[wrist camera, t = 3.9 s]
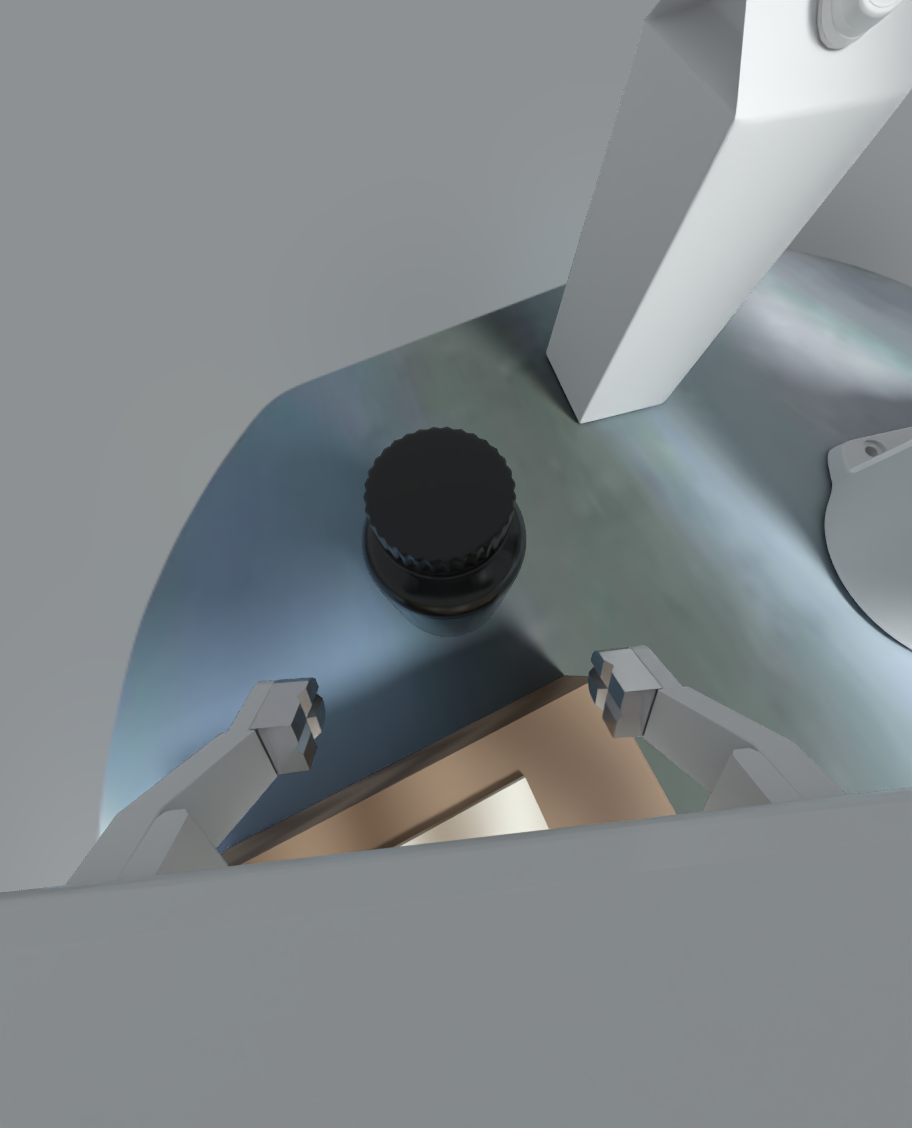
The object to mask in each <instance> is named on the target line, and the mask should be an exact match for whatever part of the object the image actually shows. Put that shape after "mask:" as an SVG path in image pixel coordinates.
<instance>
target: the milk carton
mask: <svg viewBox="0 0 912 1128" xmlns="http://www.w3.org/2000/svg"><path fill="white" fill-rule="evenodd" d="M911 89H912V0H660V1H659V2H658V4H657V5H656V6H655V7H654V8H653V10H652V11H651V12H650V13H649V14H648V16H647V17H646V18H645V20H644V25H643V28H642V32H641V35H640V38H639V42H638V45H637V49H636V52H635V55H634V59H633V62H632V65H631V69H630V72H629V75H628V79H627V82H626V85H625V89H624V92H623V95H622V99H621V102H620V106H619V109H618V112H617V116H616V119H615V123H614V126H613V129H612V132H611V136H610V139H609V143H608V146H607V149H606V153H605V156H604V159H603V163H602V166H601V170H600V173H599V176H598V180H597V183H596V186H595V190H594V193H593V197H592V200H591V203H590V207H589V210H588V214H587V217H586V220H585V223H584V227H583V230H582V234H581V237H580V240H579V244H578V247H577V251H576V254H575V257H574V260H573V264H572V267H571V270H570V274H569V277H568V281H567V284H566V287H565V291H564V294H563V297H562V301H561V304H560V307H559V311H558V314H557V318H556V321H555V324H554V328H553V331H552V334H551V338H550V341H549V345H548V348H547V351H546V354H547V357H548V359H549V361H550V363H551V365H552V367H553V369H554V371H555V373H556V376H557V378H558V380H559V382H560V384H561V386H562V388H563V390H564V392H565V394H566V396H567V398H568V401H569V403H570V405H571V407H572V409H573V411H574V413H575V415H576V417H577V419H578V421H579V423H585V422H590V421H594V420H598V419H602V418H606V417H610V416H614V415H618V414H622V413H626V412H630V411H634V410H639V409H643V408H647V407H651V406H655V405H659V404H662V403H664V402H665V401H666V399H667V398H668V397H669V396H670V394H671V393H672V392H673V391H674V389H675V388H676V387H677V386H678V384H679V383H680V382H681V380H682V379H683V378H684V377H685V375H686V374H687V373H688V372H689V370H690V369H691V368H692V367H693V365H694V364H695V363H696V362H697V360H698V359H699V358H700V356H701V355H702V354H703V353H704V351H705V350H706V349H707V348H708V346H709V345H710V344H711V343H712V341H713V340H714V339H715V338H716V336H717V335H718V334H719V333H720V331H721V330H722V329H723V327H724V326H725V325H726V324H727V322H728V321H729V320H730V319H731V317H732V316H733V315H734V314H735V312H736V311H737V310H738V309H739V307H740V306H741V305H742V303H743V302H744V301H745V300H746V298H747V297H748V296H749V295H750V293H751V292H752V291H753V290H754V288H755V287H756V286H757V285H758V283H759V282H760V281H761V279H762V278H763V277H764V276H765V274H766V273H767V272H768V271H769V269H770V268H771V267H772V266H773V264H774V263H775V262H776V261H777V259H778V258H779V257H780V256H781V254H782V253H783V252H784V250H785V249H786V248H787V247H788V245H789V244H790V243H791V242H792V240H793V239H794V238H795V236H796V235H797V234H798V233H799V232H800V230H801V229H802V228H803V226H804V225H805V224H806V223H807V221H808V220H809V219H810V218H811V216H812V215H813V214H814V212H815V211H816V210H817V209H818V207H819V206H820V205H821V204H822V203H823V201H824V200H825V199H826V197H827V196H828V195H829V194H830V192H831V191H832V190H833V189H834V187H835V186H836V185H837V183H838V182H839V181H840V180H841V178H842V177H843V176H844V175H845V173H846V172H847V171H848V170H849V168H850V167H851V166H852V165H853V163H854V162H855V161H856V160H857V158H858V157H859V156H860V155H861V153H862V152H863V150H864V149H865V148H866V147H867V146H868V144H869V143H870V142H871V141H872V139H873V138H874V137H875V135H876V134H877V133H878V132H879V130H880V129H881V128H882V126H883V125H884V124H885V123H886V121H887V120H888V119H889V118H890V116H891V115H892V113H893V112H894V111H895V110H896V109H897V107H898V106H899V105H900V103H901V102H902V101H903V100H904V98H905V97H906V96H907V94H908V93H909V91H910V90H911Z"/></svg>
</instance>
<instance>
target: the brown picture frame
mask: <svg viewBox="0 0 912 1128" xmlns="http://www.w3.org/2000/svg"><path fill="white" fill-rule="evenodd" d="M602 715H603V710H602V709H601V708H599V707H598V706H597V705H595V703H594V701H593V699H592V697H591V695H590V692H589V687H588V676H568V675H565V676H563V677H561V678H559V679H557V680H555V681H553V682H551V683H549V684H547V685H545V686H543V687H541V688H539V689H537V690H535V691H533V692H532V693H530V694H528V695H526V696H524V697H522V698H520V699H518V700H516V701H514V702H512V703H510V704H508V705H506V706H504V707H502V708H500V709H498V710H497V711H495V712H493V713H491V714H489V715H487V716H485V717H483V718H481V719H479V720H477V721H475V722H473V723H471V724H469V725H467V726H465V727H463V728H461V729H460V730H458V731H456V732H454V733H452V734H450V735H448V736H446V737H444V738H442V739H440V740H438V741H436V742H434V743H432V744H430V745H428V746H426V747H425V748H423V749H421V750H419V751H417V752H415V753H413V754H411V755H409V756H407V757H405V758H403V759H401V760H399V761H397V762H395V763H393V764H391V765H390V766H388V767H386V768H384V769H382V770H380V771H378V772H376V773H374V774H372V775H370V776H368V777H366V778H364V779H362V780H360V781H358V782H356V783H354V784H353V785H351V786H349V787H347V788H345V789H343V790H341V791H339V792H337V793H335V794H333V795H331V796H329V797H327V798H325V799H323V800H321V801H319V802H318V803H316V804H314V805H312V806H310V807H308V808H306V809H304V810H302V811H300V812H298V813H296V814H294V815H292V816H290V817H288V818H286V819H284V820H282V821H281V822H279V823H277V824H275V825H273V826H271V827H269V828H267V829H265V830H263V831H261V832H259V833H257V834H255V835H253V836H251V837H249V838H247V839H246V840H244V841H242V842H240V843H238V844H236V845H234V846H232V847H230V848H229V849H227V850H226V851H225V852H224V853H222V854H221V856H222V857H223V858H224V860H225V861H226V862H227V864H228V866H236V865H245V864H254V863H262V862H271V861H279V860H288V859H297V858H305V857H314V856H323V855H331V854H340V853H348V852H357V851H366V850H374V849H383V848H392V847H400V846H409V845H417V844H426V843H434V842H443V841H452V840H460V839H469V838H477V837H486V836H494V835H503V834H512V833H520V832H529V831H538V830H547V829H555V828H564V827H573V826H581V825H590V824H599V823H607V822H616V821H625V820H633V819H642V818H651V817H659V816H668V815H676V813H675V811H674V809H673V807H672V806H671V804H670V802H669V800H668V798H667V797H666V795H665V793H664V791H663V790H662V788H661V786H660V784H659V782H658V781H657V779H656V777H655V775H654V773H653V772H652V770H651V768H650V766H649V764H648V763H647V761H646V759H645V757H644V756H643V754H642V752H641V750H640V748H639V747H638V745H637V743H636V741H635V739H634V738H633V737H625V738H613V737H612V735H611V733H610V732H609V730H608V728H607V726H606V724H605V722H604V720H603V719H602Z"/></svg>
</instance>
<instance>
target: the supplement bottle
mask: <svg viewBox="0 0 912 1128" xmlns="http://www.w3.org/2000/svg"><path fill="white" fill-rule="evenodd" d="M368 475H369V478H368V479H367V481H366V483H365V489H366V492H365V494H364V501H365V503H366V509H365V512H366V515H367V516H366V518H365V522H364V526H363V532H362V549H363V555H364V560H365V563H366V566H367V569H368V571H369V573H370V575H371V577H372V579H373V580H374V582H375V583H376V585H377V586H378V588H379V589H380V590H381V591H382V593H383V594H384V595H385V596H386V597H387V598H388V599H389V600H390V601H391V602H392V604H393V605H394V606H395V607H396V608H397V609H398V610H399V611H400V612H401V613H402V614H403V615H404V616H405V617H406V618H407V619H408V620H409V621H410V622H411V623H412V624H413V625H415V626H416V627H417V628H419V629H421V630H423V631H425V632H427V633H429V634H432V635H436V636H442V637H455V636H461V635H464V634H467V633H470V632H472V631H474V630H476V629H478V628H479V627H481V626H482V625H483V624H485V623H486V622H487V621H488V620H489V619H490V618H491V616H492V615H493V614H494V612H495V611H496V610H497V608H498V607H499V605H500V603H501V602H502V600H503V598H504V597H505V595H506V594H507V592H508V590H509V589H510V587H511V586H512V584H513V582H514V580H515V579H516V577H517V575H518V573H519V571H520V568H521V566H522V562H523V559H524V555H525V550H526V530H525V524H524V519H523V516H522V513H521V511H520V509H519V507H518V505H517V503H516V495H515V492H514V489H515V482H514V480H513V479H512V477H511V476H512V471H511V469H510V468H509V467H508V466H507V465H506V460H505V458H503V457H502V456H501V455H499V453H498V450H497V449H496V448H494V447H492V446H490V445H489V443H488V442H487V441H486V440H484V439H480V438H478V437H477V436H476V435H475V434H473V433H466V432H465V431H463V430H462V429H451V428H449V427H444V428H437V427H432V428H430V429H427V430H418V431H416V432H415V433H411V434H406V435H405V436H404V437H403V438H402V439H399V440H395V441H394V442H393V443H392V445H391V446H390V447H387V448H386V449H384V450H383V452H382V454H381V456H379V457H378V458H377V459H375V462H374V466H373V467H372V468H371V469H370V470H369V473H368Z"/></svg>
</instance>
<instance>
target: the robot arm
mask: <svg viewBox="0 0 912 1128" xmlns="http://www.w3.org/2000/svg"><path fill="white" fill-rule="evenodd" d="M828 466H829V471H830V476H831V480H832V491H831V495H830V499H829V502H828V505H827V509H826V514H825V536H826V543H827V547H828V551H829V554H830V557H831V560H832V562H833V565H834V567H835V569H836V571H837V573H838V575H839V577H840V579H841V581H842V582H843V584H844V586H845V587H846V589H847V590H848V592H849V593H850V595H851V596H852V597H853V599H854V600H855V601H856V602H857V604H858V605H859V606H860V607H861V608H862V610H863V611H864V612H865V613H866V614H867V615H868V616H869V617H870V618H871V619H872V620H873V621H874V622H875V623H876V624H877V625H878V626H880V627H881V628H882V629H883V630H884V631H885V632H887V633H888V634H889V635H891V636H892V637H893V638H895V639H896V640H897V641H899V642H900V643H902V644H903V645H905V646H906V647H908V648H910V649H911V650H912V427H907V428H902V429H898V430H893V431H889V432H884V433H880V434H875V435H871V436H866V437H862V438H857V439H853V440H849V441H846V442H844V443H842V444H840V445H838V446H836V447H834V448H832V449H831V450H830V451H829V453H828ZM591 662H592V664H593V666H594V667H593V668H592V669H591V670H590V671H589V674H588V687H589V692H590V695H591V697H592V699H593V701H594V703H595V705H597V706H598V707H599V708H601V709H602V710H603V715H602V719H603V720H604V722H605V724H606V726H607V728H608V730H609V732H610V733H611V735H612V737H613V738H625V737H638V736H644V737H643V738H644V739H645V740H647V741H648V742H649V743H650V744H652V745H653V746H654V747H655V748H656V749H658V750H659V751H660V752H661V753H663V754H664V755H665V756H666V757H667V758H669V759H670V760H671V761H672V762H674V763H675V764H676V765H677V766H678V767H680V768H681V769H682V770H683V771H685V772H686V773H687V774H688V775H689V776H691V777H692V778H693V779H694V780H695V781H697V782H698V783H699V784H700V785H702V786H703V787H704V788H705V789H706V790H708V791H709V792H710V793H711V795H710V797H709V799H708V801H707V803H706V805H705V807H704V810H703V811H702V812H694V813H685V814H677V815H668V816H659V817H651V818H642V819H633V820H625V821H616V822H607V823H599V824H590V825H581V826H573V827H564V828H555V829H547V830H538V831H529V832H520V833H512V834H503V835H494V836H486V837H477V838H469V839H460V840H452V841H443V842H434V843H426V844H417V845H409V846H400V847H392V848H383V849H374V850H366V851H357V852H348V853H340V854H331V855H323V856H314V857H305V858H297V859H288V860H279V861H271V862H262V863H254V864H245V865H236V866H228V864H227V862H226V861H225V860H224V858H223V857H222V856H221V854H220V853H219V852H218V851H217V849H216V848H217V847H218V846H219V845H220V844H221V842H222V841H223V840H224V839H225V838H226V837H227V835H228V834H229V833H230V832H231V831H232V829H233V828H234V827H235V826H236V825H237V824H238V822H239V821H240V820H241V819H242V818H243V817H244V815H245V814H246V813H247V812H248V811H249V809H250V808H251V807H252V806H253V805H254V804H255V802H256V801H257V800H258V799H259V798H260V797H261V795H262V794H263V793H264V792H265V791H266V789H267V788H268V787H269V786H270V785H271V784H272V782H273V781H274V780H275V779H276V778H277V775H278V774H286V773H293V772H301V771H308V770H310V768H311V765H312V761H313V758H314V755H315V752H316V749H317V745H316V743H315V740H314V739H315V738H316V737H317V736H318V735H319V734H320V733H321V732H322V729H323V725H324V720H325V706H324V701H323V698H322V697H320V696H319V695H318V694H316V693H317V690H318V687H319V686H318V684H317V681H316V679H315V678H297V679H283V680H274V681H260V682H258V683H257V684H256V685H255V686H254V687H253V689H252V691H251V692H250V694H249V696H248V698H247V699H246V701H245V703H244V704H243V706H242V708H241V710H240V711H239V713H238V715H237V716H236V718H235V720H234V722H233V723H232V725H231V727H230V729H229V730H228V732H226V733H221V734H220V735H218V736H217V737H216V738H214V739H213V740H212V741H211V742H209V743H208V744H207V745H205V746H204V747H203V748H202V749H200V750H199V751H198V752H196V753H195V754H194V755H193V756H191V757H190V758H189V759H187V760H186V761H185V762H184V763H182V764H181V765H180V766H178V767H177V768H176V769H175V770H173V771H172V772H171V773H169V774H168V775H167V776H166V777H164V778H163V779H162V780H160V781H159V782H158V783H157V784H155V785H154V786H153V787H151V788H150V789H149V790H148V791H146V792H145V793H144V794H142V795H141V796H140V797H138V798H137V799H136V800H135V801H133V802H132V803H131V804H129V805H128V806H127V807H126V808H124V809H123V810H122V811H120V812H119V813H118V814H117V815H116V816H115V818H114V819H113V820H112V822H111V823H110V824H109V826H108V827H107V829H106V830H105V831H104V833H103V834H102V835H101V837H100V838H99V840H98V841H97V842H96V844H95V845H94V846H93V848H92V849H91V851H90V852H89V853H88V855H87V856H86V857H85V859H84V860H83V862H82V863H81V864H80V866H79V867H78V868H77V870H76V871H75V873H74V874H73V875H72V877H71V878H70V879H69V881H68V882H67V884H66V885H63V886H54V887H45V888H37V889H28V890H19V891H10V892H2V893H0V1128H912V787H909V788H901V789H892V790H883V791H875V792H866V793H857V794H849V795H847V794H846V793H845V792H844V791H843V790H842V789H841V788H840V787H839V786H838V785H837V784H836V783H835V782H834V781H833V780H832V779H831V778H830V777H829V776H828V775H827V774H826V773H825V772H824V771H823V770H822V769H820V768H819V767H818V766H817V765H816V764H815V763H814V762H813V761H812V760H811V759H810V758H809V757H808V756H807V755H806V754H805V753H804V752H803V751H802V750H801V749H800V748H799V747H798V746H797V745H796V744H795V743H794V742H792V741H790V740H789V739H787V738H785V737H783V736H781V735H779V734H777V733H775V732H773V731H771V730H769V729H768V728H766V727H764V726H762V725H760V724H758V723H756V722H754V721H752V720H750V719H749V718H747V717H745V716H743V715H741V714H739V713H737V712H735V711H733V710H731V709H730V708H728V707H726V706H724V705H722V704H720V703H718V702H716V701H714V700H712V699H710V698H709V697H707V696H705V695H703V694H701V693H699V692H697V691H695V690H693V689H691V688H690V687H682V686H681V685H680V683H679V682H678V681H677V680H676V679H675V678H674V676H673V675H672V674H671V673H670V672H669V671H668V669H667V668H666V667H665V666H664V665H663V664H662V662H661V661H660V660H659V659H658V658H657V657H656V656H655V654H654V653H653V652H652V651H651V650H650V649H649V648H648V647H647V646H645V645H644V646H634V647H627V648H616V649H606V650H597V651H594V652H593V653H592V657H591Z"/></svg>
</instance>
